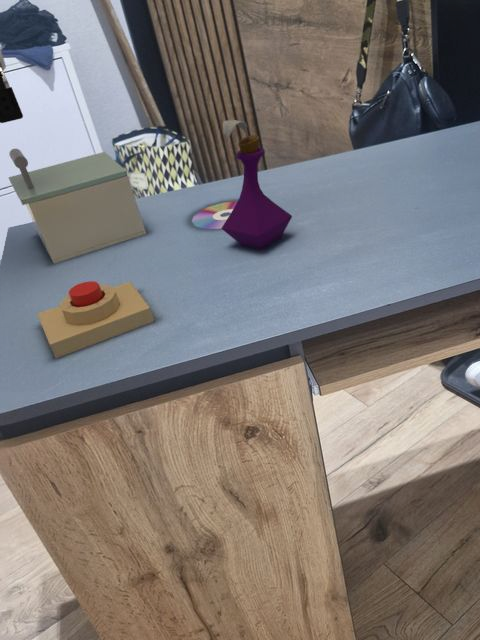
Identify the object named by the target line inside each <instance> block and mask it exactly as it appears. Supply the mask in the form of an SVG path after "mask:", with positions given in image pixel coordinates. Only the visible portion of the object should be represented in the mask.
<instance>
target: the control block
mask: <svg viewBox="0 0 480 640" xmlns="http://www.w3.org/2000/svg"><path fill="white" fill-rule="evenodd" d="M99 286H100V288H101V291H102V293H103V296H104V297H103V299H102V300H100V301H99V302H97V303H95V304H92V305H89V306H86V307H75V306H74V305H73V302H72V300H71V298H70V295H69V294H67V296H65V297H64V298H63V299H62V300H61V302H60V303H59V306H55V307H53V308H50V309H46V310H44V311H41V312H38V313H37V318H38V319H39V322H40V324H41V327H42V329H43V332H44V334H45V337H46V339H47V342H48V345H49V346H50V349H51V350H52V353H53V355H54V357H55V359H58V358H61V357H64V356H66V355H69V354H72V353H74V352H77V351H80V350H82V349H85V348H88V347H91V346H94V345H95V344H99V343H101V342H104V341H106V340H109V339H112V338H115V337H117V336H119V335H122V334H125V333H128V332H130V331H133V330H135V329H138V328H141V327H144V326H146V325H149V324H151V323H154V322H155V318H154V316H153V313H152V309H151V307H150V305H149V304H148V303H147V301H146V300H145V299H144V298H143V296H142V295H141V294H140V293H139V290H137V288H136V287H135V286H134V284H133V283H132V281H127V282H124V283H122V284H121V283H120V284H118V285H115V286H111V285H106V284H99Z"/></svg>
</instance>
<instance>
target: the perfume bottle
mask: <svg viewBox="0 0 480 640" xmlns="http://www.w3.org/2000/svg"><path fill="white" fill-rule="evenodd" d="M236 126H238V127H239V128H240V129H241V130H243V131H244V133H245V137H243V138H241V139H240V140H239V142H238V147H239V150H238V151H237V152H236V155H235V158H236V159H237V160H239V161H240V162H241V163H242V165H243V181H242V186H241V192H240V195H239V197H238V199H237V201H238V202H237V203H236V205H235V207H234V209H233V211H232V212H231V213H229V215H230V216H229V215H228V216H229V217H228V219H227V220H226V222H225V223H224V225H223V227H222V228H221V230H222V231H224V232H225V233H226V234H227V235H229V237H231V238H232V239H233V240H235V241H236V242H237V243H238V244H239V245H240V246H243V247H248V248H251V249H256V250H265V249H266V248H268V247H269V246H271V245H273V244H274V243H275V242H278V240H280V239H282V236H283V235H284V232H285V231H286V229H287V227H288V225H289V223H290V222H291V220H292V218H293V216H292V214H290V213H289V212H288V211H287V210H285V209H283V207H281V206H279V205H278V204H277V203H276V202H274V201H273V200H271V198H269V197H268V196H266V195H265V193H264V192H263V190H262V189H261V186H260V183H259V175H258V173H259V172H258V169H259V163H260V161H261V159H262V157H263V156H265V153H266V151H265V148H263V147H260V146H259V145H260V144H259V143H260V136H259V135H256V134H251V135H249V134H248V125H247V123H246V122H244V121H240V120H237V119H229V120H228V119H227V120H224V121H223V122H222V133H223V136H224V137H225V139H226V140H227V141H228V140H230V137H231V134H232V132H233V130H234V128H235V127H236Z"/></svg>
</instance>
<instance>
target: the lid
mask: <svg viewBox="0 0 480 640" xmlns="http://www.w3.org/2000/svg"><path fill="white" fill-rule="evenodd" d="M9 157H10V159H11V160H12V163H13V164H14V166H15V167H16V168H17V169H19V172H20V174H16V175H15V174H14V175H12V176H9V177H8V180H9V182H10V184H11V187H12V188H13V191H14V192H15V194H16V196H17V198H18V199H19V201H20V203H21V205H22V206H24V205H25V206H26V204H29V203H32V202H36V201H39V200H43V199H46V198H50V197H53V196H57V195H60V194H64V193H67V192H71V191H74V190H78V189H81V188H85V187H88V186H92V185H96V184H99V183H103V182H106V181H110V180H113V179H117V178H120V177H124V176H128V173H127V170H126V169H125V168H124V167H122V166H121V164H119V163H118V162H117V161H116V159H113V157H111V155H110V154H108V153H107V152H106V151H102V152H99V153H94V154H91V155H87V156H83V157H79V158H76V159H72V160H68V161H65V162H61V163H57V164H53V165H49V166H46V167H42V168H38V169H35V170H31V171H28V169H27V167H28V166H29V161H28V159H27V158H26V156H25V154H24V153H23V151H21V150H20V149H19V148H12V149H11V150H9Z"/></svg>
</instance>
